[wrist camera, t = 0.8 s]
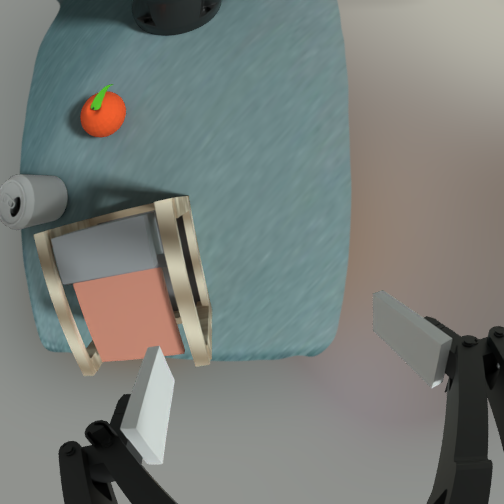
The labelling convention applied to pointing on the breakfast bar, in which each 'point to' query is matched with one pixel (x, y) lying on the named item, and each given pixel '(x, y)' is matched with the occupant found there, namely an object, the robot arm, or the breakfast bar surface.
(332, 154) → the breakfast bar surface
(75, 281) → the grey and pink block
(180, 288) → the frame
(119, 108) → the clementine
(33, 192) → the can
